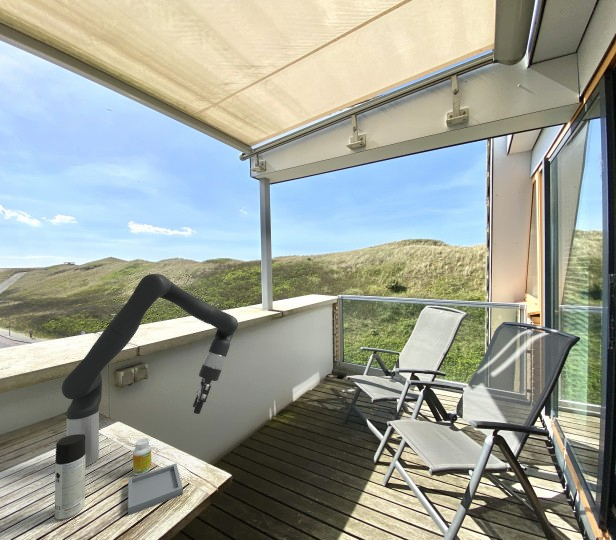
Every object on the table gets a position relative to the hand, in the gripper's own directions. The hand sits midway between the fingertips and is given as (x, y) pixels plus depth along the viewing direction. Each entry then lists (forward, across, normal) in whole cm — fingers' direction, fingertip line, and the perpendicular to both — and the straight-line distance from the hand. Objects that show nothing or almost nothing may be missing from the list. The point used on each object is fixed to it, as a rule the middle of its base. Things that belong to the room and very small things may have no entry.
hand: (195, 410), depth 106 cm
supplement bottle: (+22, -3, -9) cm, 24 cm away
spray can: (+30, +9, -24) cm, 40 cm away
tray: (+22, +10, -4) cm, 24 cm away
